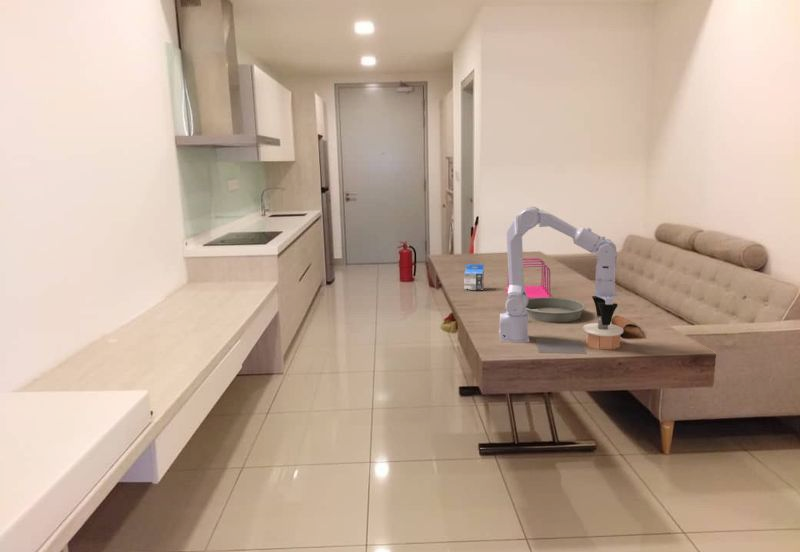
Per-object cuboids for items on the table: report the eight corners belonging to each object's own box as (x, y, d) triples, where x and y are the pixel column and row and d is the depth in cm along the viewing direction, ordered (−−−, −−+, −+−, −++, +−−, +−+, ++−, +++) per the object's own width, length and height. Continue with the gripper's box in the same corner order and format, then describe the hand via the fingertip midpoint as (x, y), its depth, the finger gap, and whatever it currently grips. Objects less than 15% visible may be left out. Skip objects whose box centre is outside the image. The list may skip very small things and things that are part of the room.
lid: (586, 336, 171) (587, 322, 170) (579, 325, 182) (580, 312, 182) (627, 336, 169) (628, 322, 168) (617, 325, 181) (618, 312, 180)
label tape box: (464, 290, 264) (463, 265, 262) (465, 289, 268) (465, 263, 265) (482, 291, 261) (482, 265, 259) (484, 289, 265) (483, 264, 262)
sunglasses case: (647, 338, 182) (637, 321, 182) (627, 348, 184) (617, 331, 183) (635, 324, 199) (626, 308, 199) (617, 333, 201) (608, 317, 201)
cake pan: (521, 323, 206) (521, 311, 205) (517, 307, 229) (517, 296, 229) (590, 324, 202) (591, 312, 201) (579, 307, 226) (579, 297, 225)
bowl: (589, 350, 173) (590, 334, 172) (584, 341, 182) (584, 326, 181) (622, 351, 171) (622, 335, 170) (615, 341, 180) (615, 326, 180)
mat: (539, 354, 171) (539, 352, 170) (535, 340, 184) (535, 339, 184) (586, 355, 168) (586, 353, 168) (579, 341, 182) (579, 339, 182)
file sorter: (510, 301, 239) (511, 266, 236) (506, 289, 264) (506, 256, 261) (552, 301, 238) (553, 265, 235) (543, 289, 262) (544, 256, 259)
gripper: (624, 283, 165) (622, 328, 167) (613, 274, 179) (611, 315, 182) (599, 283, 166) (597, 327, 169) (590, 274, 180) (589, 315, 183)
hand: (603, 321), depth 175 cm, fingers open, 7 cm apart
